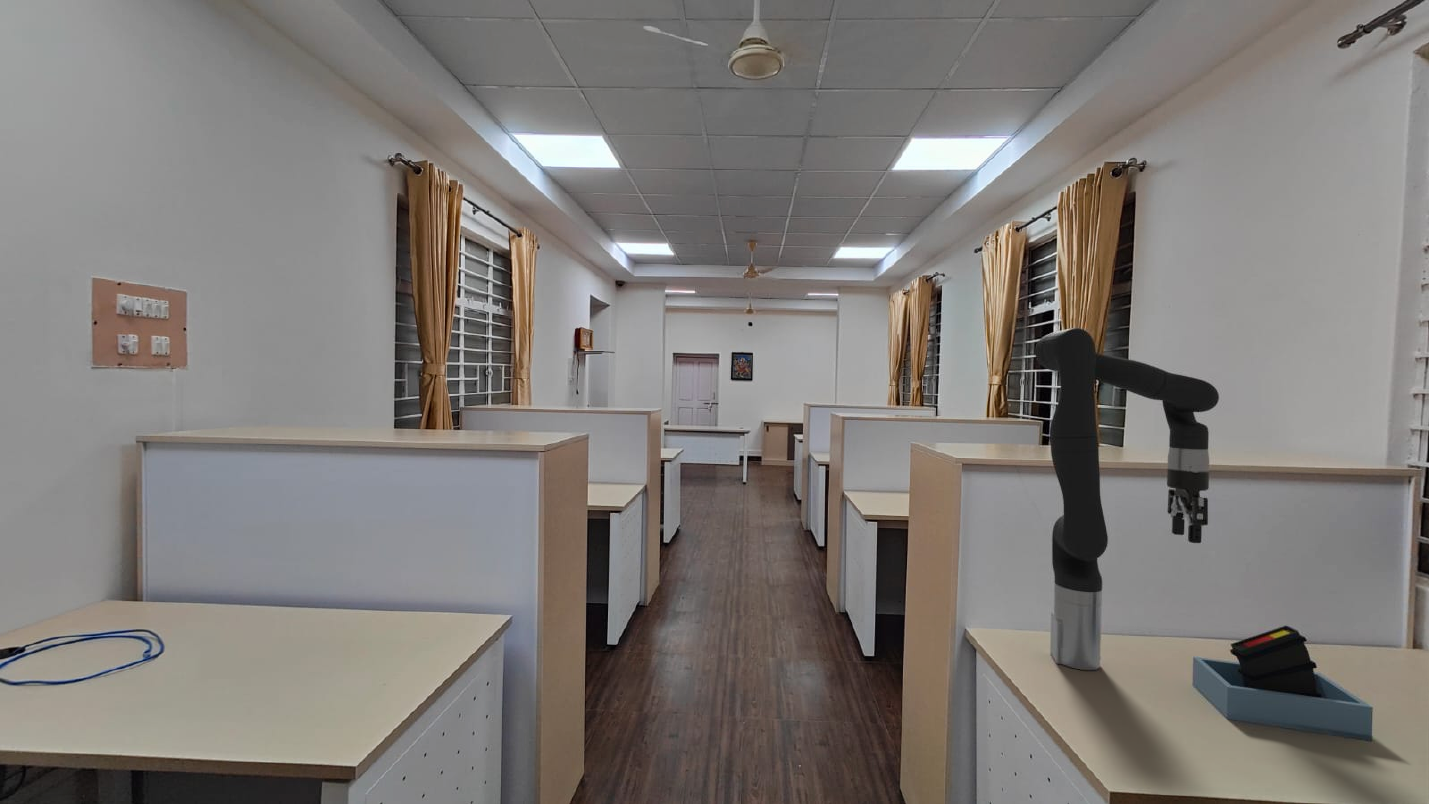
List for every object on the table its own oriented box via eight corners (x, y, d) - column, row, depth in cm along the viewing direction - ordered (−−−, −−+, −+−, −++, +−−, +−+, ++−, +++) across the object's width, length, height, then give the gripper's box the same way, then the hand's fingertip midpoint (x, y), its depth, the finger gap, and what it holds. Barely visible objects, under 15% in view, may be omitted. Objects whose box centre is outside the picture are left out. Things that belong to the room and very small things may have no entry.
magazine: (1340, 706, 111) (1302, 631, 112) (1266, 729, 113) (1230, 655, 114) (1323, 696, 115) (1286, 624, 116) (1252, 718, 117) (1217, 647, 118)
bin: (1226, 718, 111) (1227, 687, 111) (1192, 685, 124) (1193, 656, 124) (1371, 741, 104) (1372, 707, 104) (1319, 703, 118) (1319, 673, 118)
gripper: (1156, 464, 144) (1154, 530, 144) (1182, 470, 131) (1180, 544, 131) (1193, 465, 142) (1191, 533, 142) (1223, 472, 128) (1221, 547, 128)
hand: (1186, 538), depth 136 cm, fingers open, 8 cm apart
